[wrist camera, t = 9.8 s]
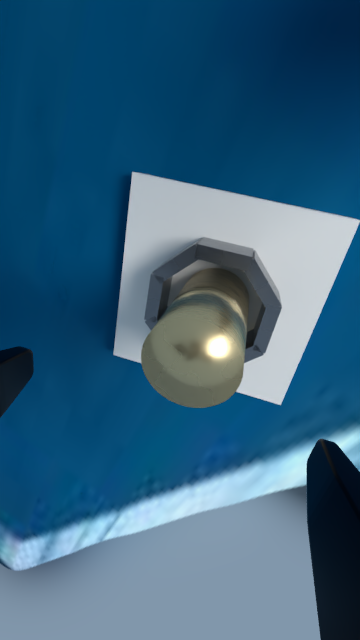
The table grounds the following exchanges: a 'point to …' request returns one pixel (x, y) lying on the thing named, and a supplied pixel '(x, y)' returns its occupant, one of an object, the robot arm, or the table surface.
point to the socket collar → (231, 258)
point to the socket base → (241, 229)
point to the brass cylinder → (200, 341)
